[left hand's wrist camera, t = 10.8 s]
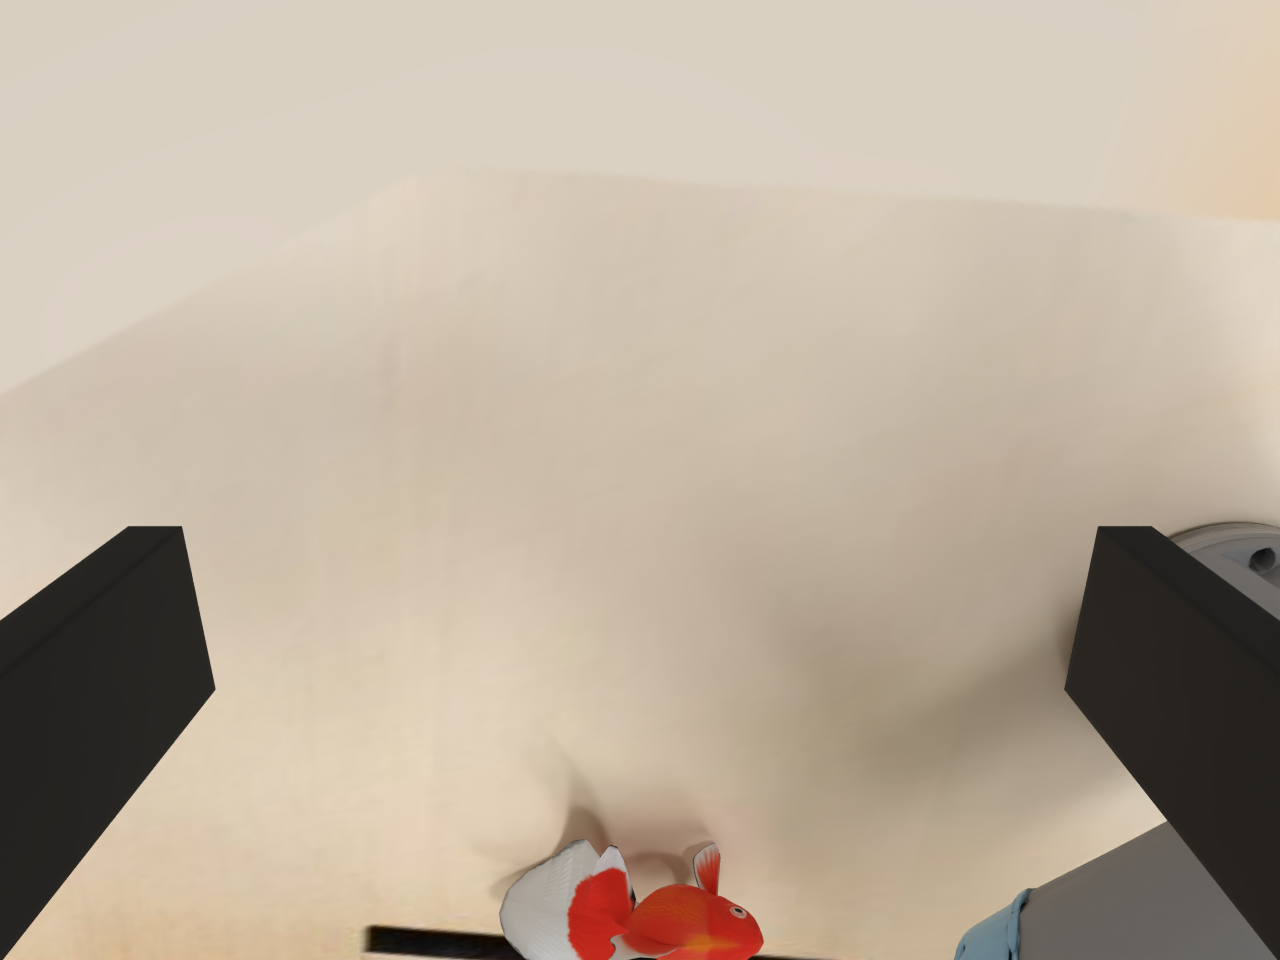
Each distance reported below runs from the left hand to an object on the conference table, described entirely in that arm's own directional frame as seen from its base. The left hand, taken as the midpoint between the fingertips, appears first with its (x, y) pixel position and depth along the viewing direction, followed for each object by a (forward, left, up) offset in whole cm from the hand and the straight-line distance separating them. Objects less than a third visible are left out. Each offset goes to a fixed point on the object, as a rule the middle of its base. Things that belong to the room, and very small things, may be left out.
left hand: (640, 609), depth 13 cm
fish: (+28, +24, -32) cm, 49 cm away
